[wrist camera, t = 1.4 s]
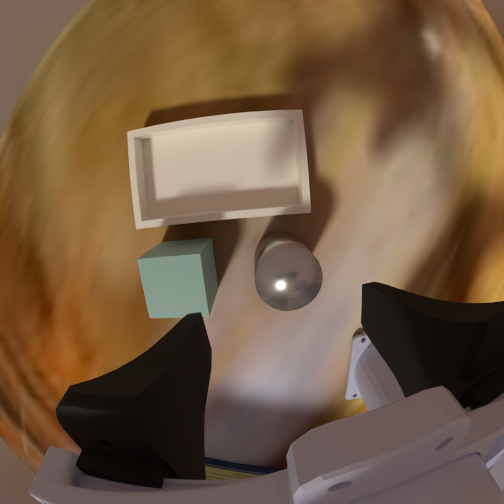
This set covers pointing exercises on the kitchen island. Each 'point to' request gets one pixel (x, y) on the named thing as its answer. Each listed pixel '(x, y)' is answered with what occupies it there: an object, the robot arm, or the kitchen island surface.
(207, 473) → the protein box
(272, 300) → the silver metal cylinder
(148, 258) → the teal block
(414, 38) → the kitchen island surface
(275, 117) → the parts tray
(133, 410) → the robot arm
